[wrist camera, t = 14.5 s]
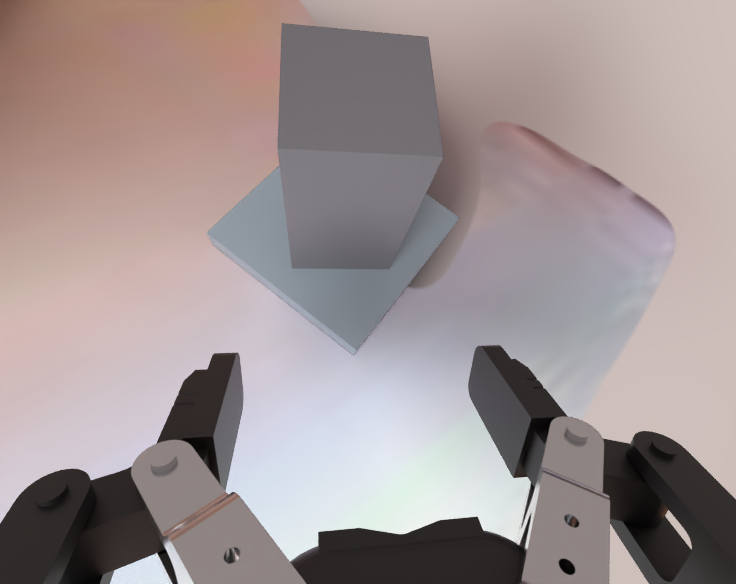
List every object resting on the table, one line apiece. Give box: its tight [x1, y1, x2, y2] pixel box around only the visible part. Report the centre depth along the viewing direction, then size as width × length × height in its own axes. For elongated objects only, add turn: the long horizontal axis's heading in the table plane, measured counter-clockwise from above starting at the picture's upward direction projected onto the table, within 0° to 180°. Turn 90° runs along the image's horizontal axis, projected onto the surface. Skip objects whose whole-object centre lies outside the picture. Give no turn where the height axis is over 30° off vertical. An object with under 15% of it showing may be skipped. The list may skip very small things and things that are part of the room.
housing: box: [278, 23, 443, 269], centre depth 18 cm, size 5×5×10 cm
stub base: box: [207, 165, 459, 355], centre depth 21 cm, size 10×10×6 cm
